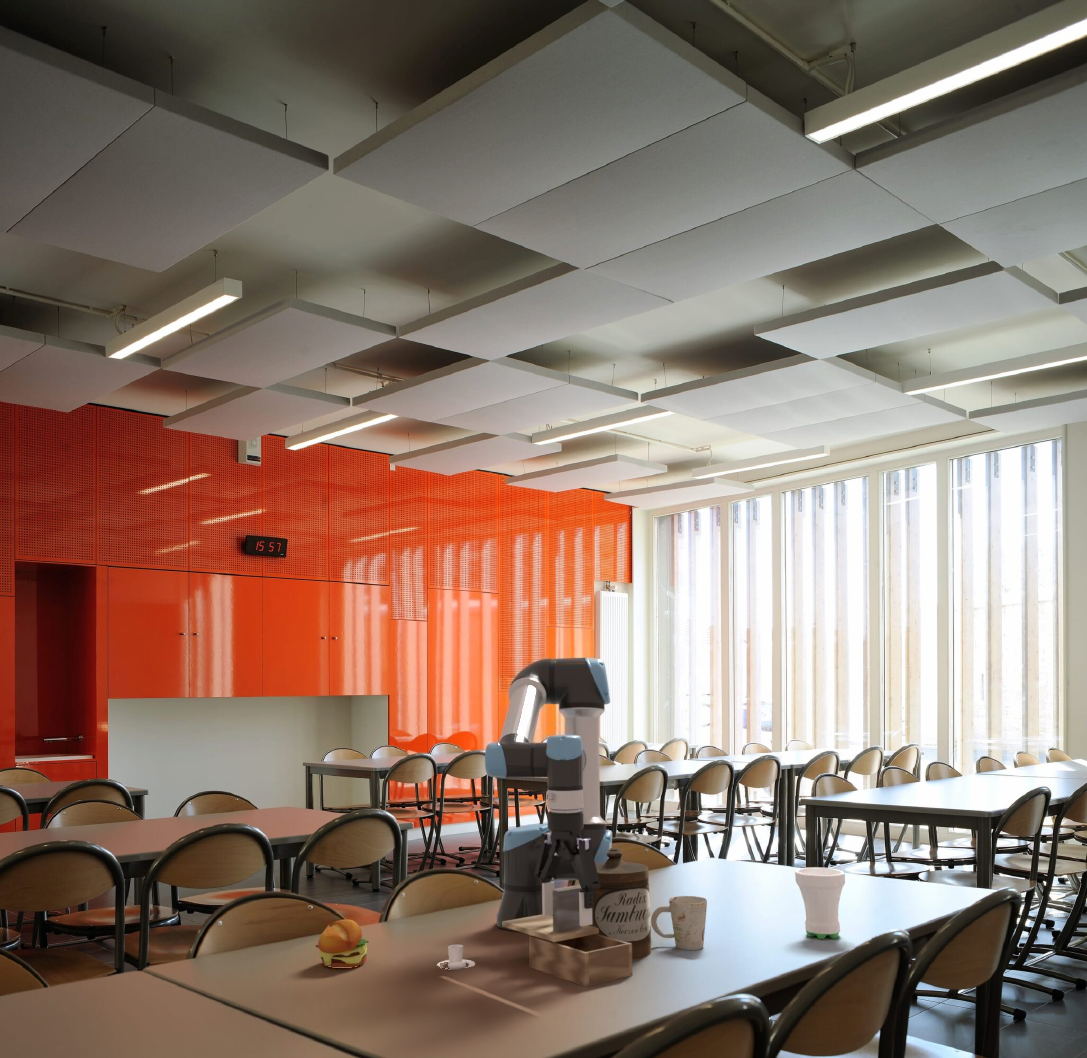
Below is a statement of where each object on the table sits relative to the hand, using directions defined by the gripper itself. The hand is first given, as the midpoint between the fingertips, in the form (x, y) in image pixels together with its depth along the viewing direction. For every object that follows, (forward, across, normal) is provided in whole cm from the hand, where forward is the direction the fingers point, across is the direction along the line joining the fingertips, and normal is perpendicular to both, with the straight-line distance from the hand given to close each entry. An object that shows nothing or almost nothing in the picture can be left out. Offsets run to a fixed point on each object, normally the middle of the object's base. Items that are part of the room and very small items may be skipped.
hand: (566, 920), depth 208 cm
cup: (+10, +15, +63) cm, 66 cm away
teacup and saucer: (+10, -18, -18) cm, 28 cm away
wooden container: (+10, -3, +16) cm, 19 cm away
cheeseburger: (+10, -33, -34) cm, 48 cm away
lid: (+3, -6, 0) cm, 6 cm away
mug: (+10, +1, +31) cm, 33 cm away
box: (+10, +4, 0) cm, 10 cm away
